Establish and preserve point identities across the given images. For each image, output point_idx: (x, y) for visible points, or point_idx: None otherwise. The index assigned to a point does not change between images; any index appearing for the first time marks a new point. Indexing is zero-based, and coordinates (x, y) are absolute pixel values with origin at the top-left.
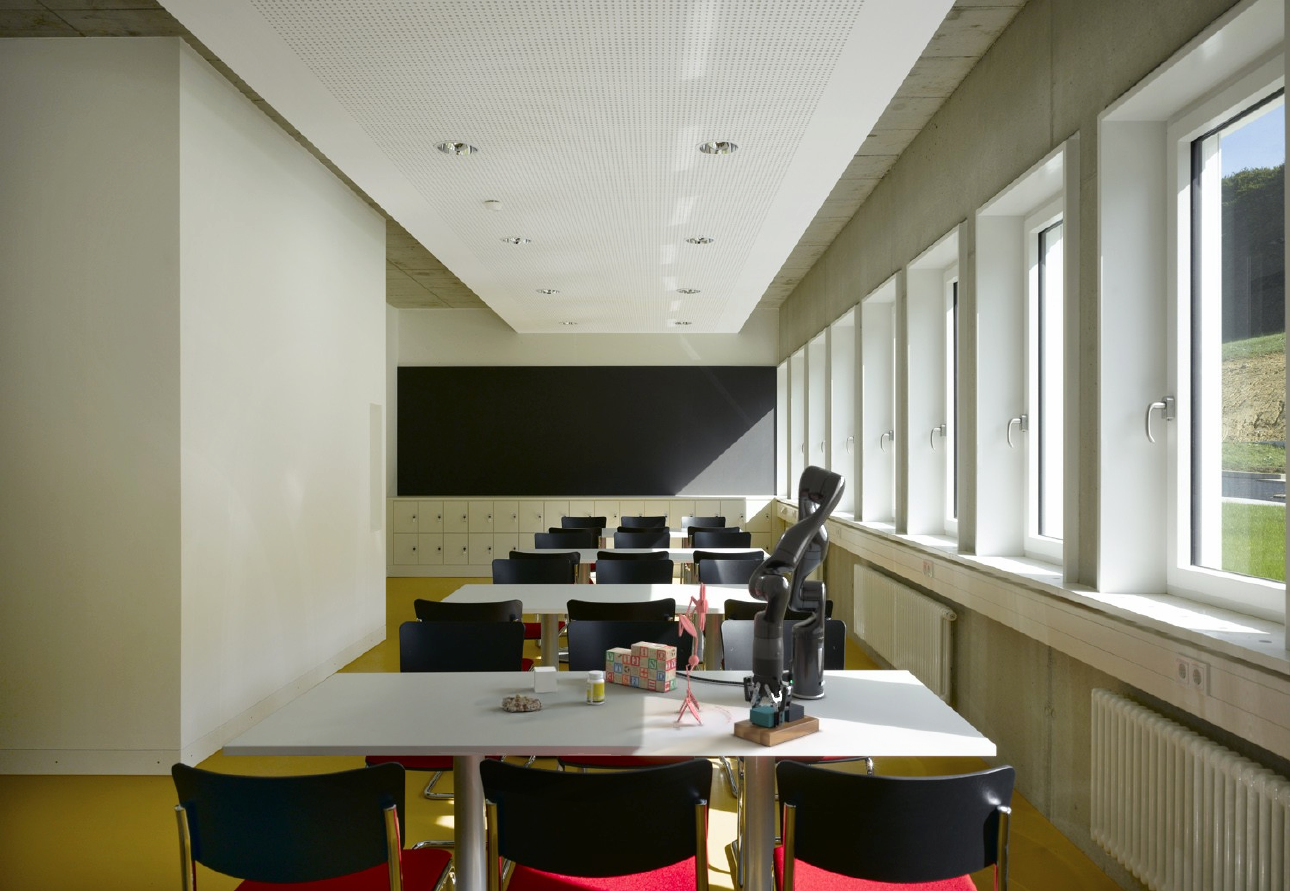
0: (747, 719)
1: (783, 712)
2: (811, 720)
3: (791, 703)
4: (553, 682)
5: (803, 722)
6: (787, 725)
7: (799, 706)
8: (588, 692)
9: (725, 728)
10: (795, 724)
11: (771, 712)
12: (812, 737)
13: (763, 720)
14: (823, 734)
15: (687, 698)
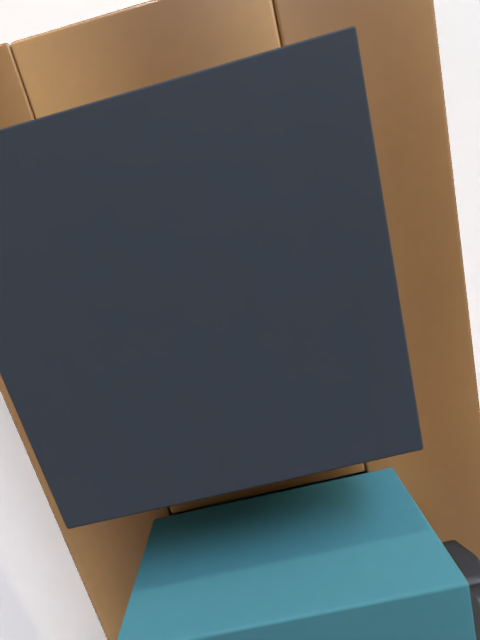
0: (113, 635)
1: (454, 575)
2: (428, 84)
3: (93, 147)
4: None
5: (434, 233)
6: (424, 448)
7: (332, 140)
8: None
9: (29, 619)
10: (441, 358)
11: None
12: (471, 209)
13: None
14: (465, 52)
15: None
